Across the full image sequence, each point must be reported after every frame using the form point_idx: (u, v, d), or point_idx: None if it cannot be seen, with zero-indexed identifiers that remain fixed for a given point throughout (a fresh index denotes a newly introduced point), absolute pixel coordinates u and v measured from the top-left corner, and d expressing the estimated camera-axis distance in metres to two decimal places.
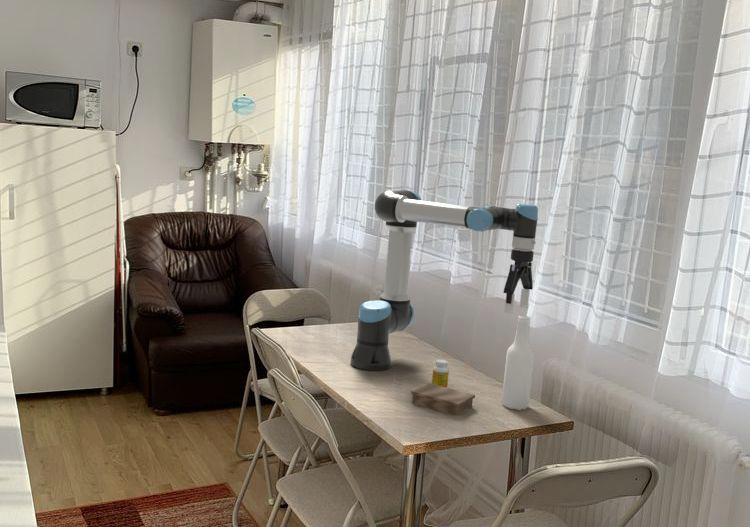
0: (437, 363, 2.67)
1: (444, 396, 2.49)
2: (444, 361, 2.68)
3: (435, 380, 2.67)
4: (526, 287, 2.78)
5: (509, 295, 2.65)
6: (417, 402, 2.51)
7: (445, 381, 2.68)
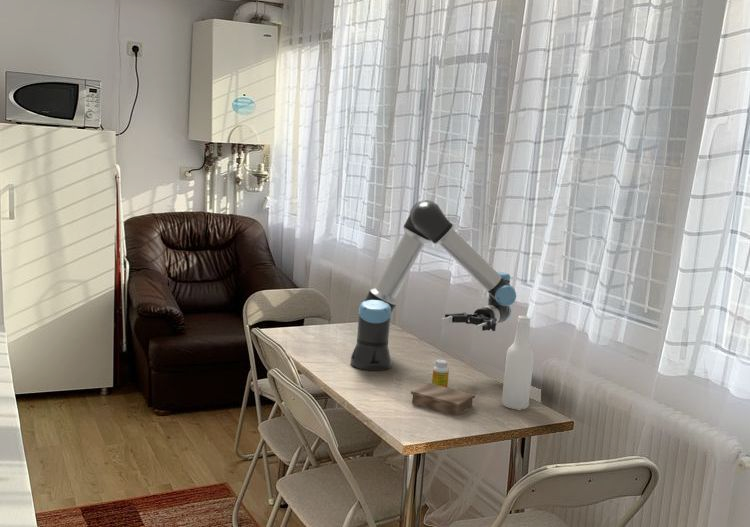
0: (437, 363, 2.67)
1: (444, 396, 2.49)
2: (444, 361, 2.68)
3: (435, 380, 2.67)
4: None
5: (488, 328, 2.77)
6: (417, 402, 2.51)
7: (445, 381, 2.68)
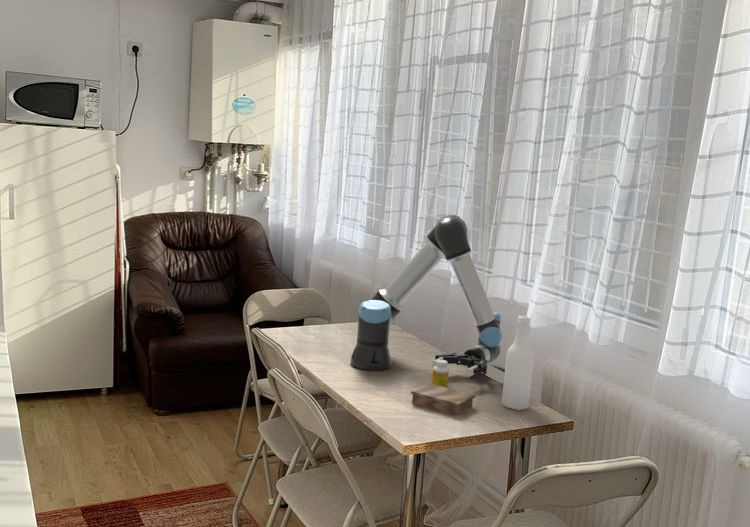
0: (437, 363, 2.67)
1: (444, 396, 2.49)
2: (444, 361, 2.68)
3: (435, 380, 2.67)
4: None
5: (479, 371, 2.75)
6: (417, 402, 2.51)
7: (445, 381, 2.68)
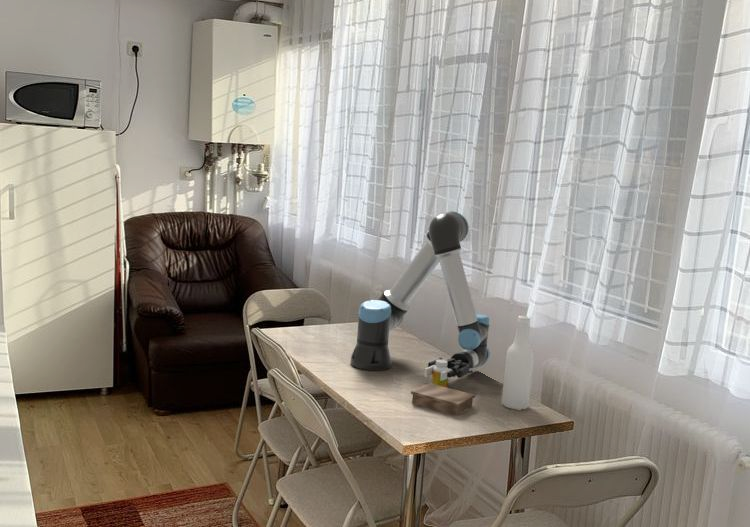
0: (437, 363, 2.67)
1: (444, 396, 2.49)
2: (444, 361, 2.68)
3: (435, 380, 2.67)
4: None
5: (453, 374, 2.68)
6: (417, 402, 2.51)
7: (445, 381, 2.68)
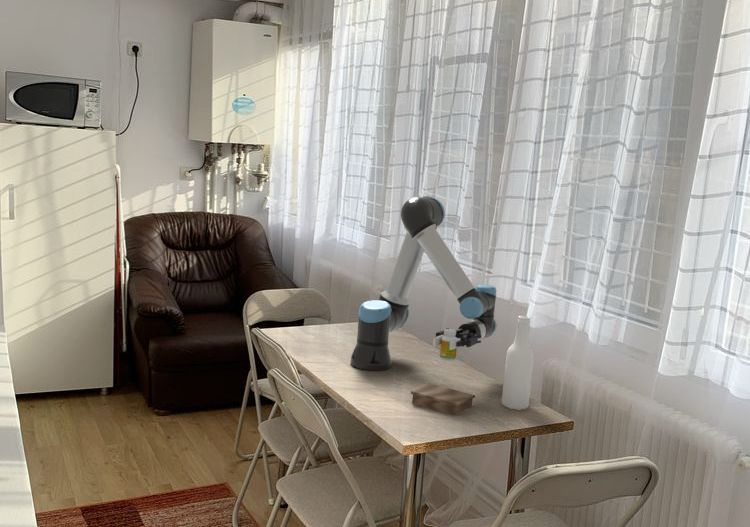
0: (446, 332, 2.61)
1: (444, 396, 2.49)
2: (453, 330, 2.62)
3: (444, 350, 2.61)
4: None
5: (462, 344, 2.61)
6: (417, 402, 2.51)
7: (454, 351, 2.61)
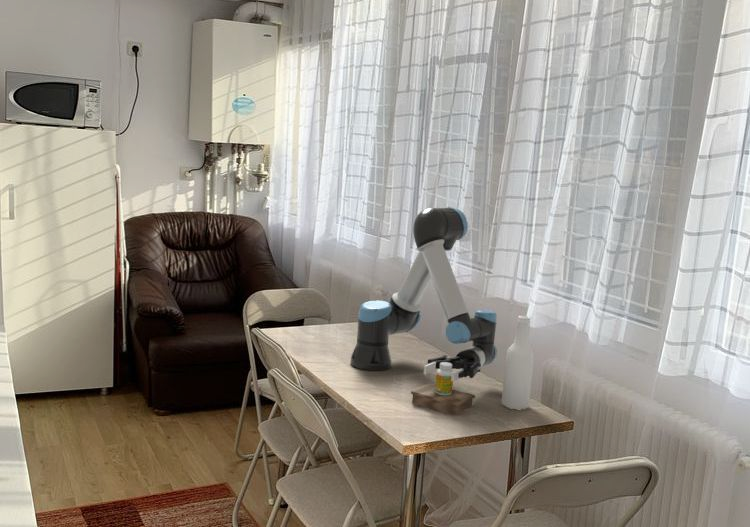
0: (441, 366, 2.49)
1: (444, 396, 2.49)
2: (449, 364, 2.50)
3: (439, 384, 2.50)
4: None
5: (465, 374, 2.49)
6: (417, 402, 2.51)
7: (450, 385, 2.50)
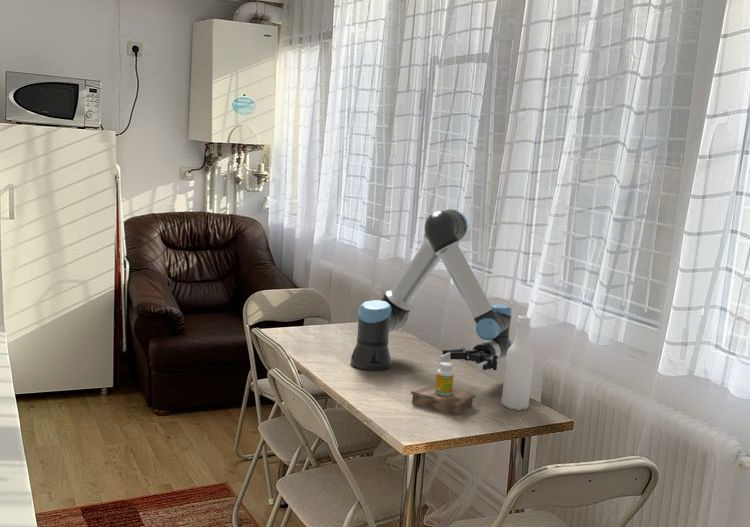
0: (441, 366, 2.50)
1: (444, 396, 2.49)
2: (449, 364, 2.51)
3: (439, 384, 2.50)
4: None
5: (489, 367, 2.60)
6: (417, 402, 2.51)
7: (450, 385, 2.50)
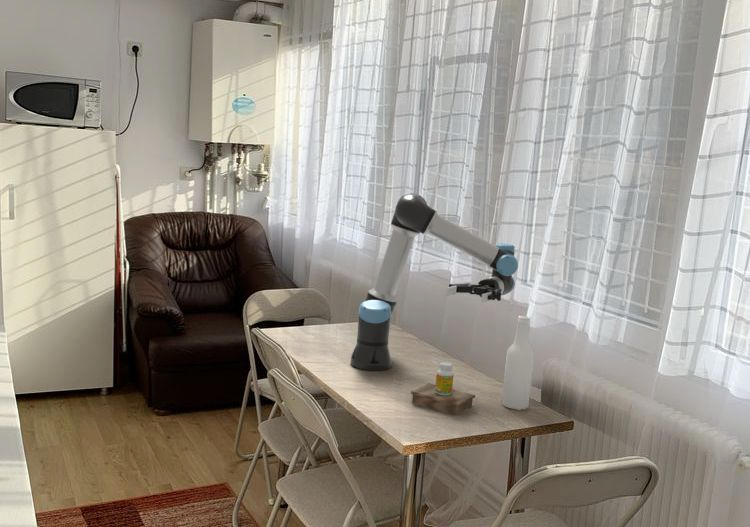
0: (441, 366, 2.50)
1: (444, 396, 2.49)
2: (449, 364, 2.51)
3: (439, 384, 2.50)
4: None
5: (494, 297, 2.72)
6: (417, 402, 2.51)
7: (450, 385, 2.50)
